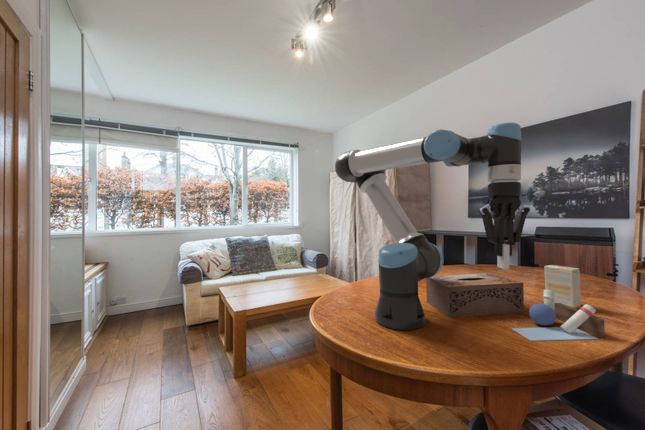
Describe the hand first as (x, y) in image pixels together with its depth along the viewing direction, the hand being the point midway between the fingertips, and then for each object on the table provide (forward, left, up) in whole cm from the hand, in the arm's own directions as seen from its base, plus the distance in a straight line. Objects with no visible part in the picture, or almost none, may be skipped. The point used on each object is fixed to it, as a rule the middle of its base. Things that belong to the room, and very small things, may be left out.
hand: (503, 267), depth 73 cm
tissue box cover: (+2, +19, -18) cm, 26 cm away
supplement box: (+33, +19, -18) cm, 42 cm away
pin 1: (+17, +5, -18) cm, 25 cm away
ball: (+13, +3, -15) cm, 20 cm away
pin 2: (+15, -2, -17) cm, 22 cm away
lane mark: (+11, -2, -18) cm, 21 cm away
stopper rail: (+22, +2, -18) cm, 28 cm away
